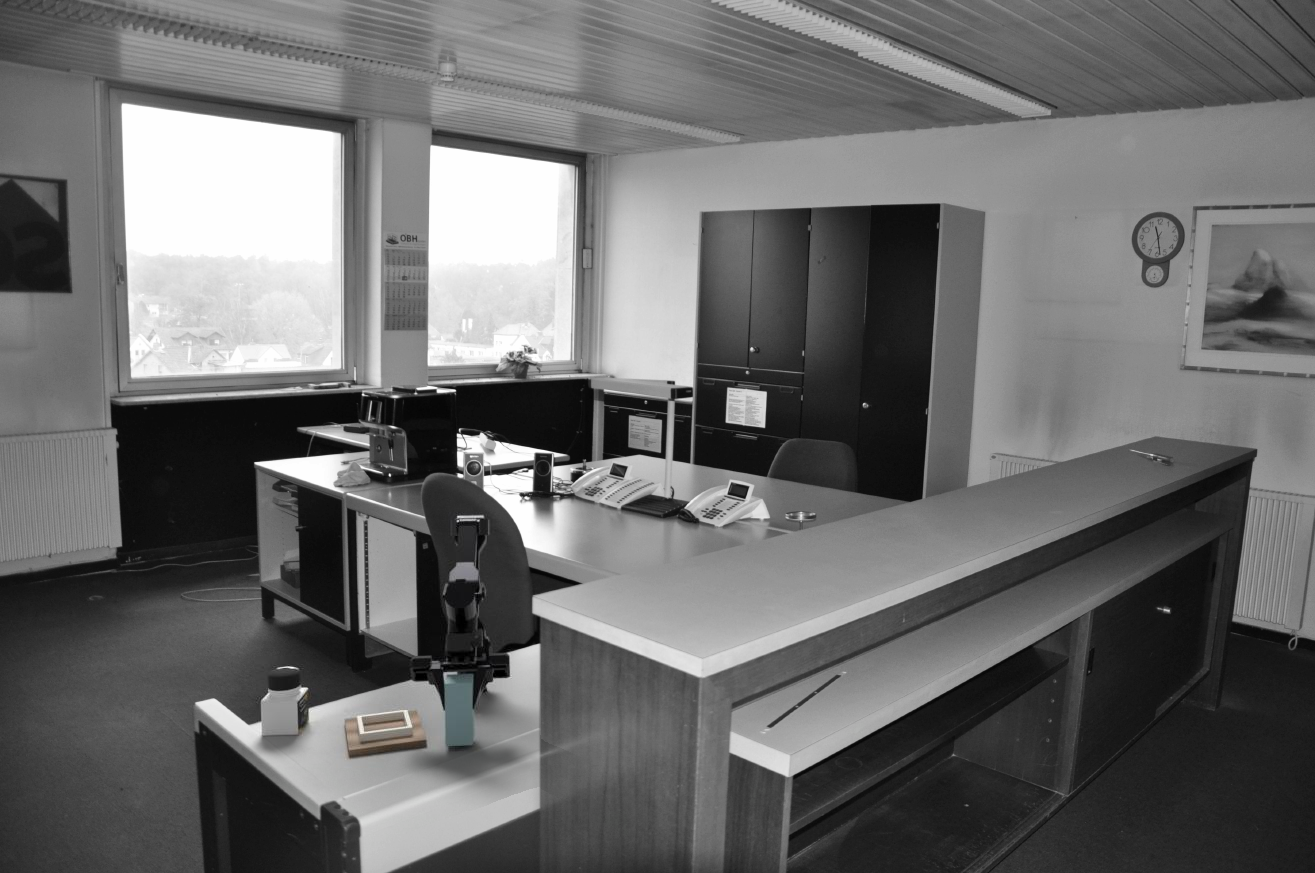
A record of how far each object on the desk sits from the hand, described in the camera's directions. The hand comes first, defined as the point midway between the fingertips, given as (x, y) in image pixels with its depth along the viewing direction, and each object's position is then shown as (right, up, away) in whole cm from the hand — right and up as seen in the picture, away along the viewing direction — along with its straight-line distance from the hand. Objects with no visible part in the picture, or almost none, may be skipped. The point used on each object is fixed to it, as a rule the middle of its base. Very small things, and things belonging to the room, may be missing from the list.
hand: (459, 708), depth 179 cm
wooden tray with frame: (-16, -7, +7) cm, 19 cm away
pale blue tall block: (0, -6, +2) cm, 7 cm away
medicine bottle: (-36, -7, +10) cm, 38 cm away
